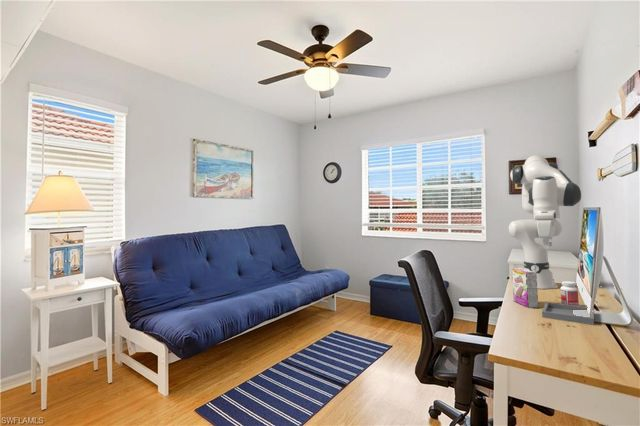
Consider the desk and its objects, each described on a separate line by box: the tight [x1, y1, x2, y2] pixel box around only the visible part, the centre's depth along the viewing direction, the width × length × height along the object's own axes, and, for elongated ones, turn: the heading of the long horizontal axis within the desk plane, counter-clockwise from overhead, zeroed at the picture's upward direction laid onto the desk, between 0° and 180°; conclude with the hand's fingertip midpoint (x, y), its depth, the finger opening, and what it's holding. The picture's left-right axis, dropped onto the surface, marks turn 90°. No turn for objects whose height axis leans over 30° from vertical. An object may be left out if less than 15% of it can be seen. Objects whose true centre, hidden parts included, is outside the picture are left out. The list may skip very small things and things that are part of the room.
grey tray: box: [541, 301, 595, 326], centre depth 127 cm, size 16×16×2 cm
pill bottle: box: [560, 280, 580, 306], centre depth 138 cm, size 6×6×11 cm
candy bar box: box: [511, 267, 539, 309], centre depth 144 cm, size 11×5×16 cm, turn 179°
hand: (548, 247), depth 128 cm, fingers open, 8 cm apart
